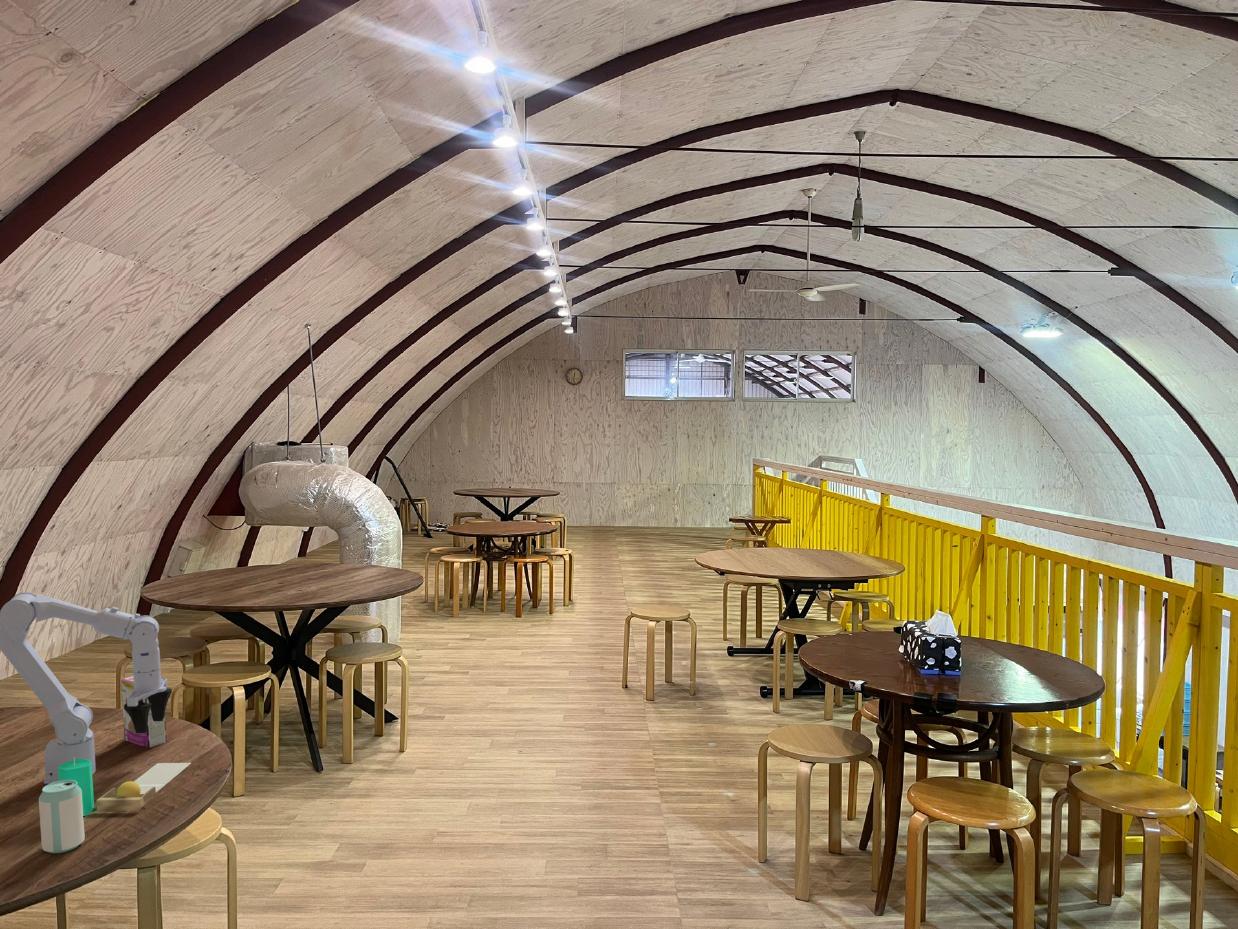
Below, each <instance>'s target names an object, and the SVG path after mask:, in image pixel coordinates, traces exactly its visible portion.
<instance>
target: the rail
mask: <svg viewBox="0 0 1238 929" xmlns="http://www.w3.org/2000/svg"><path fill="white" fill-rule="evenodd" d="M156 796H157V792H156V788H155V787H152V788H151V789H150V790H149V791H147V792H146V793H145V794H141V795H140V796H139V797H121V798H117V789H116V787H112V788H110V789H109V790H108V791H106V792H105V793H104V794H102V795H101V796H100V797H99V798H97V799H96V802H95V803H96V804H95V805H96V812H97V811H122V810H132V811H131V812H142V811H143V810H144V809H145V808H144V807H143V806H145V805H146V804H147V803H148V802H149V801H150V800H152V799H153V798H154V797H156ZM143 808H144V809H143ZM142 809H143V810H142ZM141 810H142V811H141Z"/></svg>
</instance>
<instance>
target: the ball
mask: <svg viewBox="0 0 1238 929" xmlns="http://www.w3.org/2000/svg"><path fill="white" fill-rule="evenodd" d="M140 792H141V789H140V786H139V785H138V784H137V783H136V782H134V781H131V780H129V781H125V782H123V783H121V784H120V785H119V787H118V788H117V789H116V798H121V797H141V794H140Z"/></svg>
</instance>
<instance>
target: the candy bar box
mask: <svg viewBox="0 0 1238 929" xmlns="http://www.w3.org/2000/svg"><path fill="white" fill-rule="evenodd" d="M120 690H121V704H122V719H123V720H122V721H123V734H124V735H123V736H124V741H126V742H130V743H131V744H135V745H139V746H141V747H145V748H148V749H151V748H153V747H156V746H159V745H163V744H165V743H167V730H166V729H167V727H166V726H167V725H166V724H167V722H166V714H165V715H164V719H163V721H153V718H152V713H151V708H150V711H149V715H148V728H147V732H146V733H136V730H135V727H134V725H133V722H132V720H131V718H130V716H129V714H128V713H127V712H126V710H125V709H124V704H126V703H127V698H128V697H129V696H130V695H131V693H132V691H133V690H134V679H133V675H132V676H128V677H124V678H121V679H120ZM143 702H145V703H149V701H148V698H146V699H144V700H143Z"/></svg>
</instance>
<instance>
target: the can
mask: <svg viewBox="0 0 1238 929" xmlns="http://www.w3.org/2000/svg"><path fill="white" fill-rule="evenodd" d="M41 791H42V792H41V794H40V796H38V809H39V821H40V822H39V824H40V839H41V841H40V842H41V849H42V850H43V851H44V852H47V853H49V854H63V853H66V852H69V851H72V850H75V848H78V847H79V845H81V844H83V842H84V841H85V836H86V835H85V823H84V820H85V819H84V817H83V805H82V790H81V788H80V787H79V786H78V785H77V782H76V781H74V780H63V781H57V782H54V783H51V784H45V786H43V787H42V789H41Z"/></svg>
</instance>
